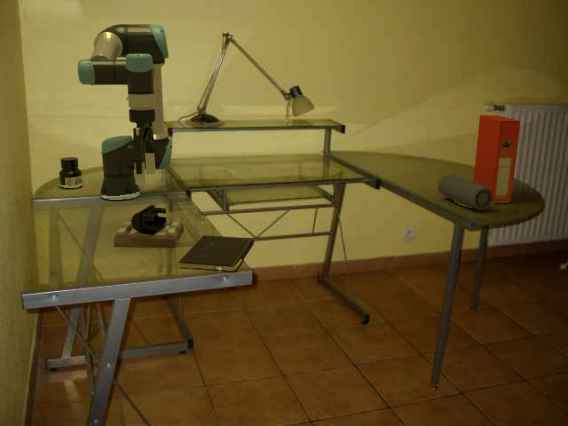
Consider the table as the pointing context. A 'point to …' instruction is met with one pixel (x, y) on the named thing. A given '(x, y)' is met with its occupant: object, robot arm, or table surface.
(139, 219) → the black notched block
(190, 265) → the hardcover book
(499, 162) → the file binder
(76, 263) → the table surface
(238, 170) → the table surface
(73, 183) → the ink bottle
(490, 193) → the bluetooth speaker
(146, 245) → the display riser
